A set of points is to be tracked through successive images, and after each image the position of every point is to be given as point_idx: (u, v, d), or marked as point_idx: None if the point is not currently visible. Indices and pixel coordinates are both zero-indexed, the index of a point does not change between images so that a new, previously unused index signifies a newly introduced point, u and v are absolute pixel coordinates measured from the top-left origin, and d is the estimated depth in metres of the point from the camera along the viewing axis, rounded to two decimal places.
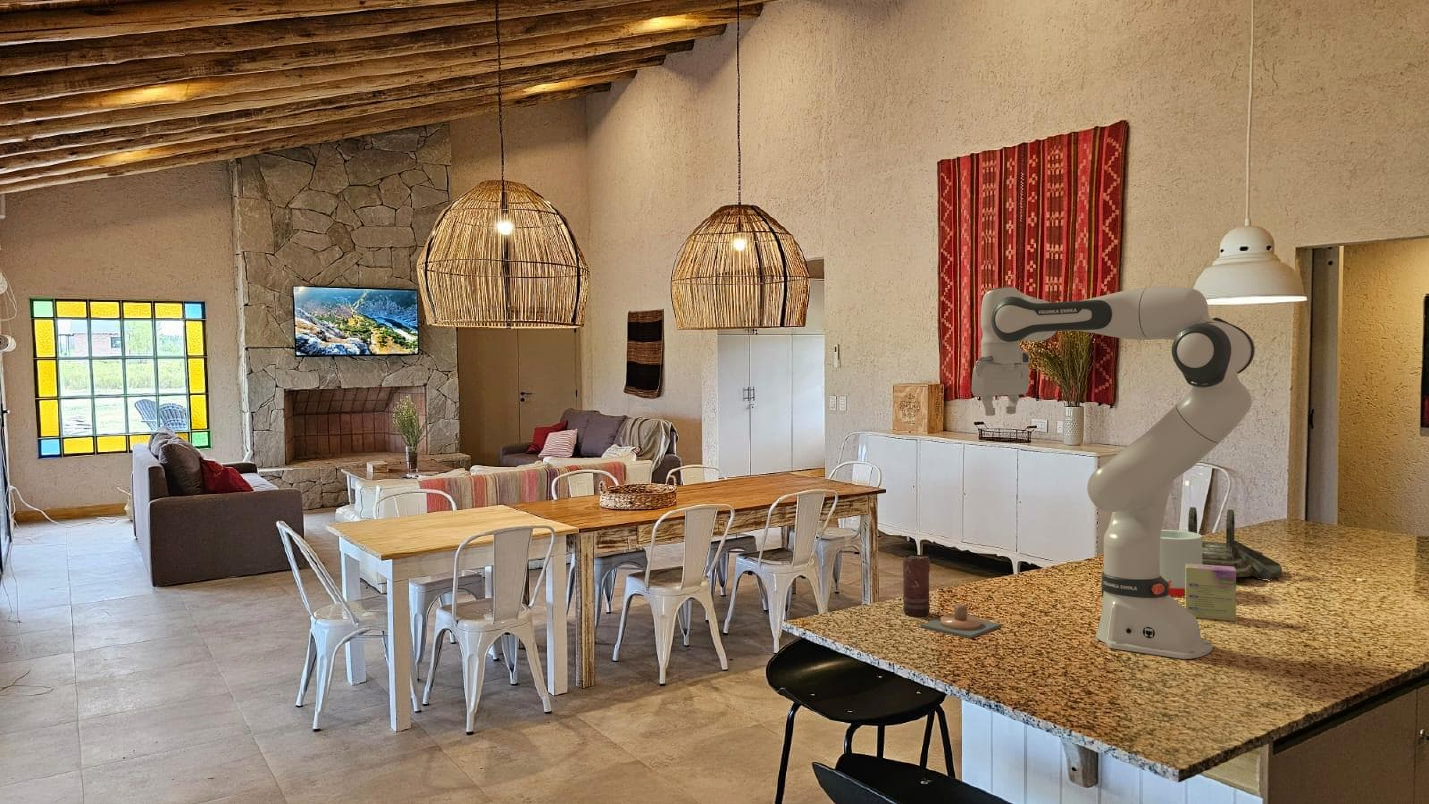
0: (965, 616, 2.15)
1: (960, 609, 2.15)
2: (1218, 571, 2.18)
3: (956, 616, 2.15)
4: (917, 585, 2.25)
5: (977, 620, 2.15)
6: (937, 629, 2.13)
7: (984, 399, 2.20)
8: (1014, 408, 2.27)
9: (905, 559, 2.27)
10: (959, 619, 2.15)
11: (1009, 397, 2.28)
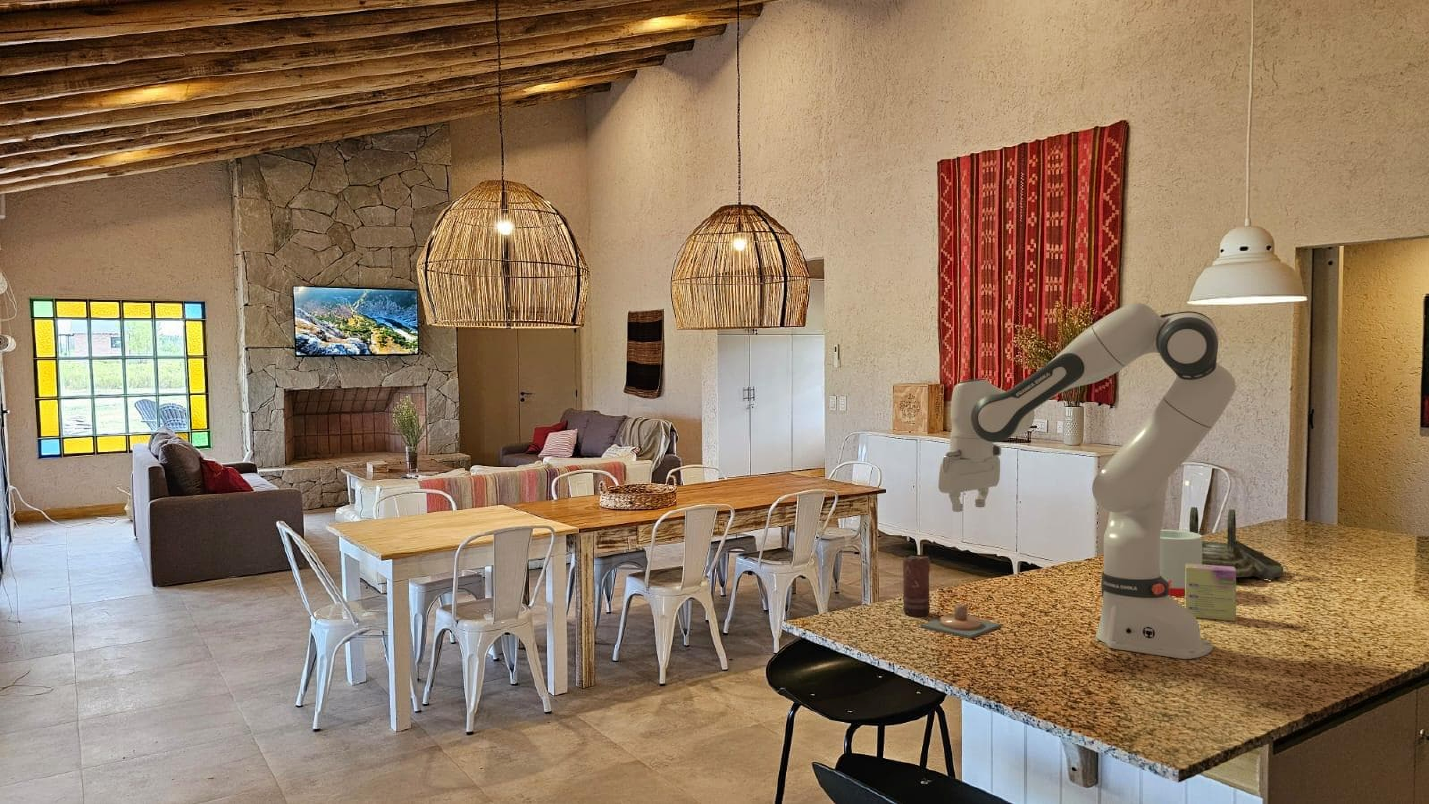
0: (965, 616, 2.15)
1: (960, 609, 2.15)
2: (1218, 571, 2.18)
3: (956, 616, 2.15)
4: (917, 585, 2.25)
5: (977, 620, 2.15)
6: (937, 629, 2.13)
7: (951, 495, 2.14)
8: (983, 501, 2.20)
9: (905, 559, 2.27)
10: (959, 619, 2.15)
11: (979, 489, 2.22)
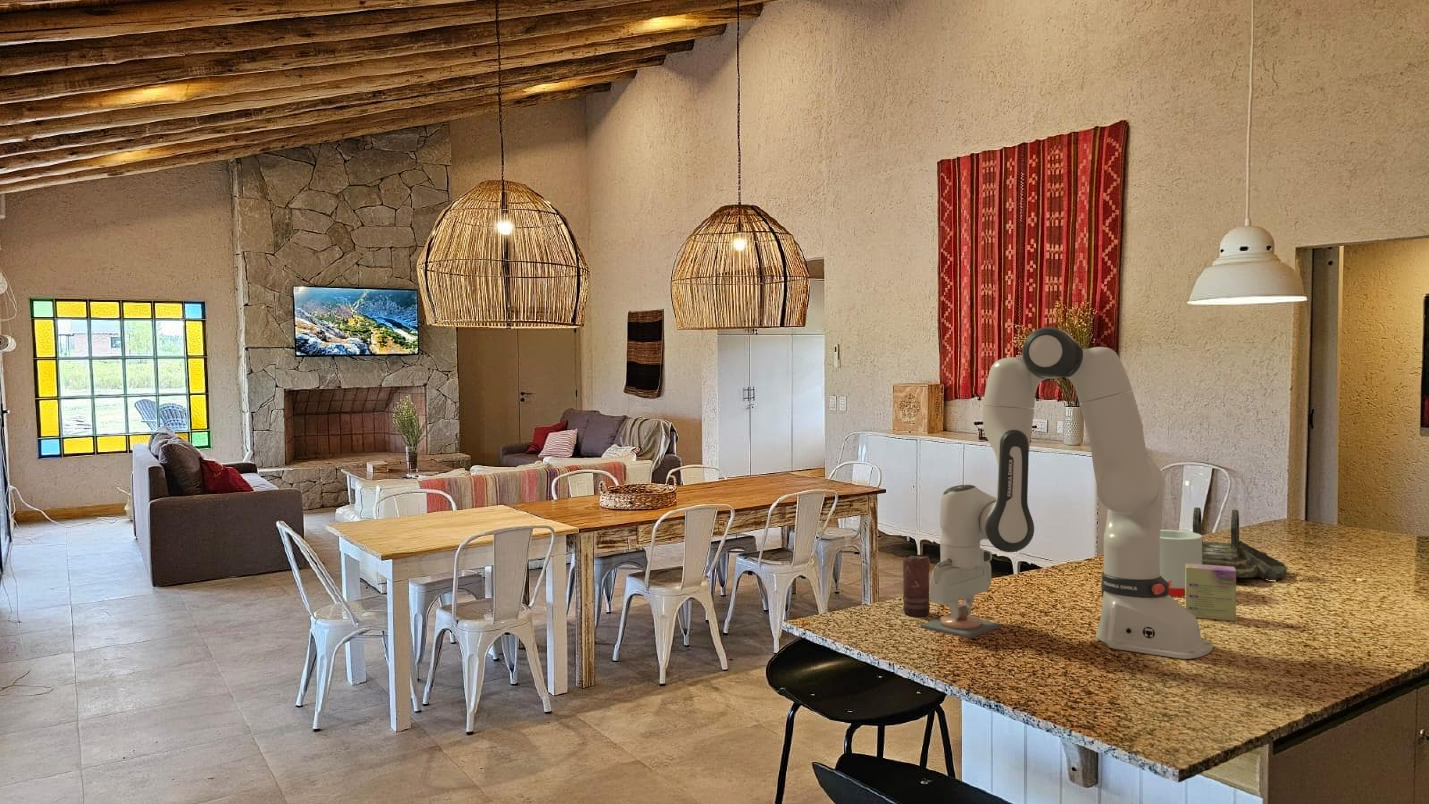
0: (965, 616, 2.15)
1: (960, 609, 2.15)
2: (1218, 571, 2.18)
3: None
4: (917, 585, 2.25)
5: (977, 620, 2.15)
6: (937, 629, 2.13)
7: (949, 602, 2.13)
8: (969, 609, 2.17)
9: (905, 559, 2.27)
10: (959, 619, 2.15)
11: None
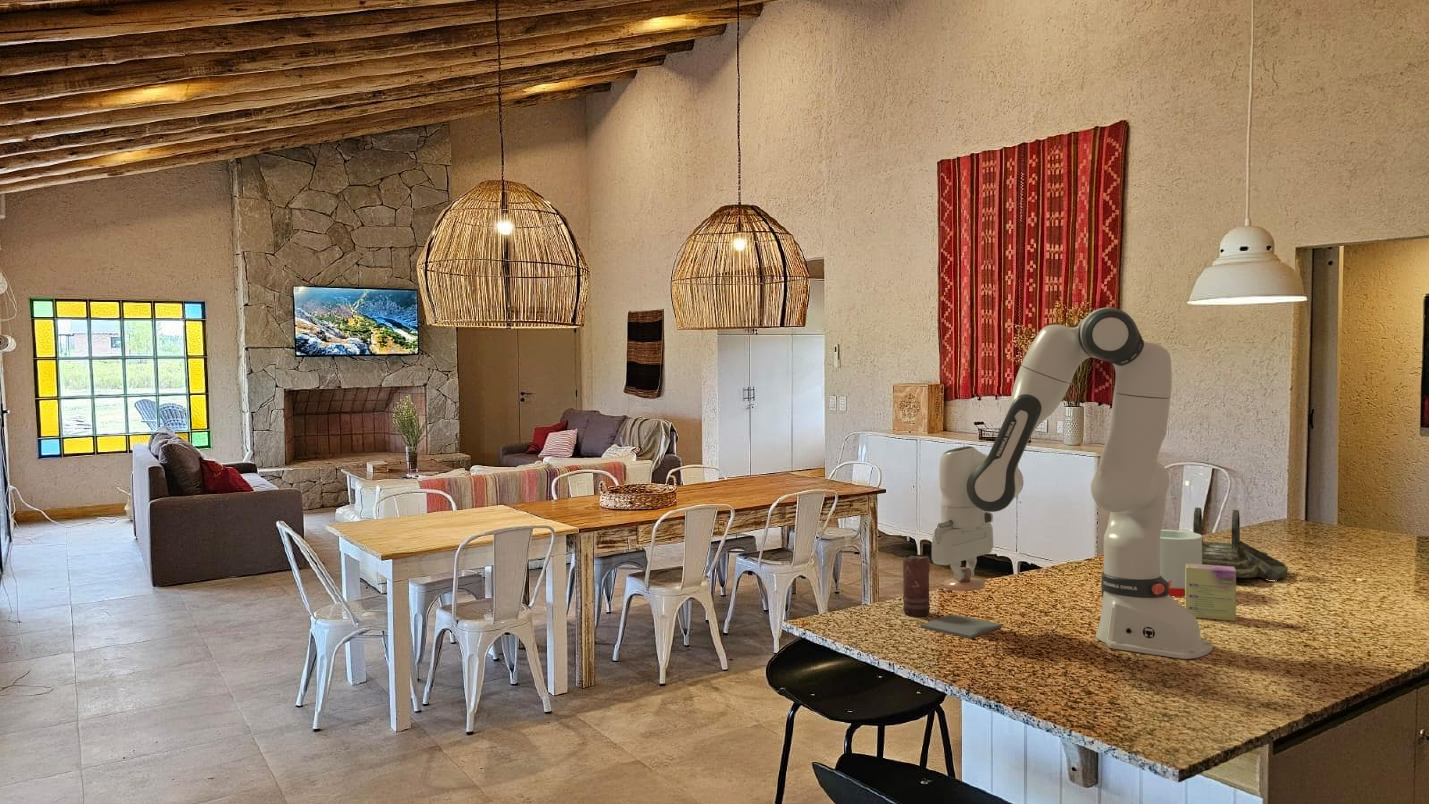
0: (968, 578, 2.14)
1: (963, 571, 2.14)
2: (1218, 571, 2.18)
3: None
4: (917, 585, 2.25)
5: (980, 581, 2.14)
6: (937, 629, 2.13)
7: (952, 564, 2.13)
8: (972, 571, 2.16)
9: (905, 559, 2.27)
10: (962, 581, 2.14)
11: (967, 559, 2.17)
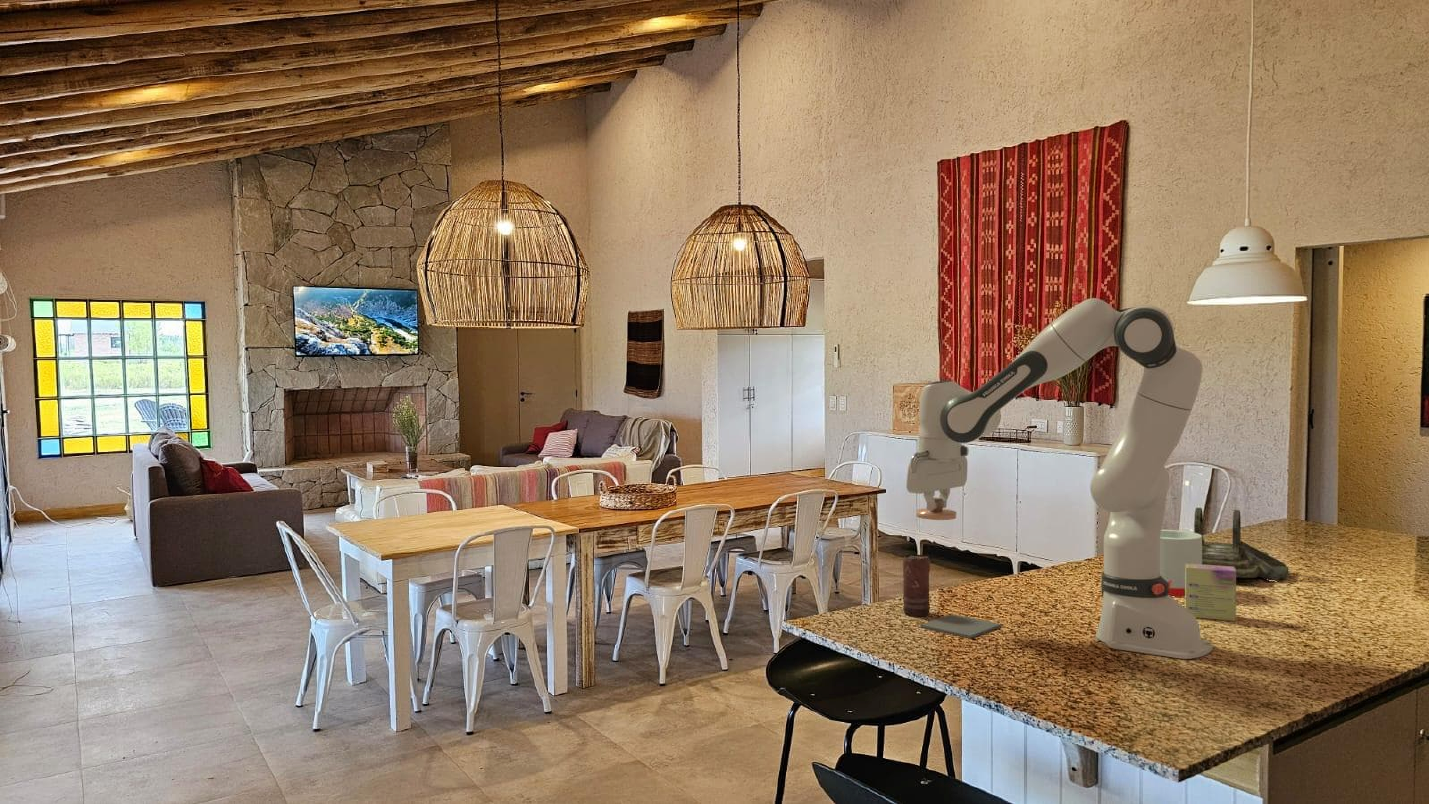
0: (941, 508, 2.20)
1: (936, 501, 2.19)
2: (1218, 571, 2.18)
3: None
4: (917, 585, 2.25)
5: (952, 512, 2.20)
6: (937, 629, 2.13)
7: (926, 494, 2.18)
8: (945, 502, 2.21)
9: (905, 559, 2.27)
10: (935, 511, 2.19)
11: (941, 490, 2.23)
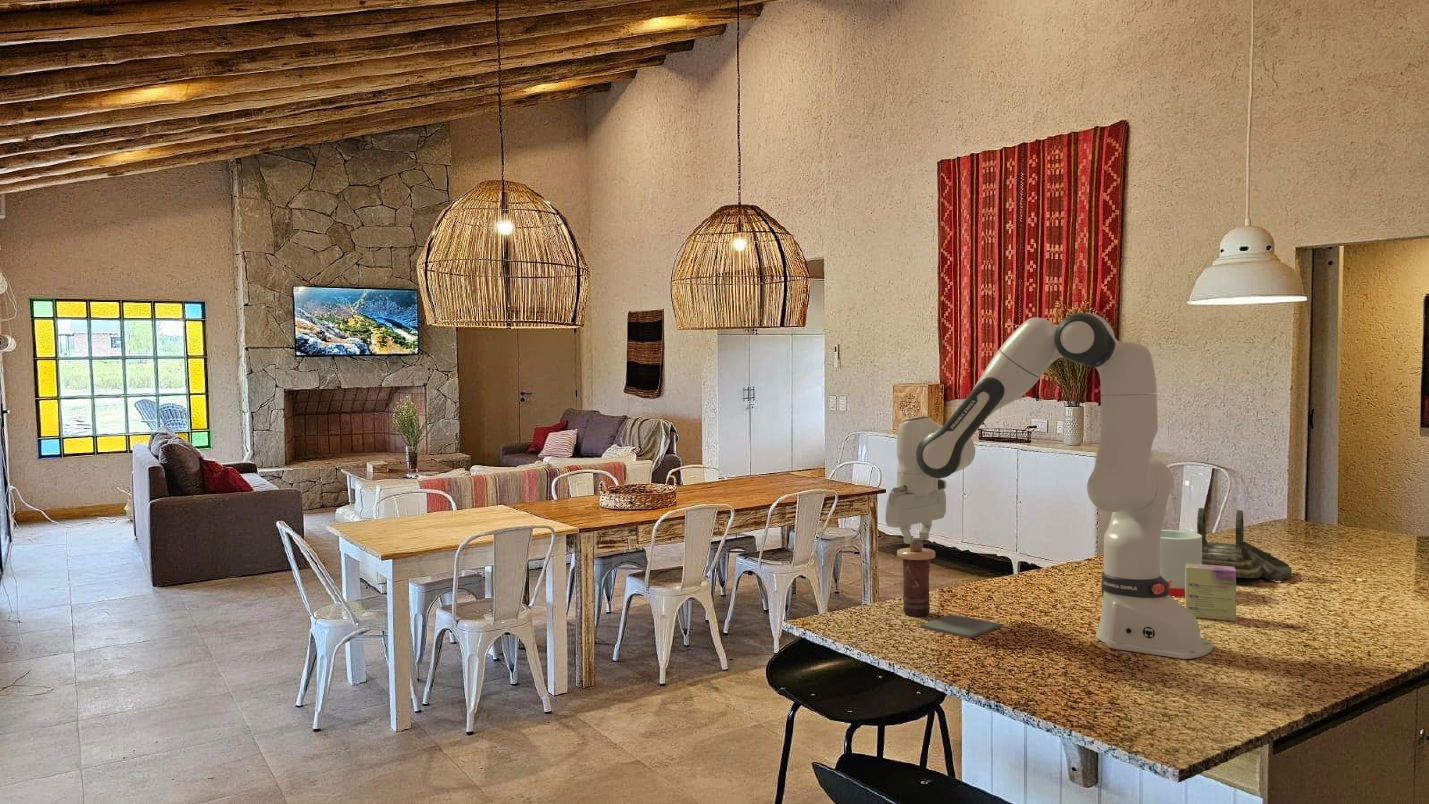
0: (920, 548, 2.27)
1: (915, 541, 2.26)
2: (1218, 571, 2.18)
3: (911, 548, 2.27)
4: (917, 585, 2.25)
5: (931, 551, 2.27)
6: (937, 629, 2.13)
7: (902, 528, 2.24)
8: (927, 534, 2.29)
9: (905, 559, 2.27)
10: (914, 551, 2.27)
11: (923, 522, 2.30)
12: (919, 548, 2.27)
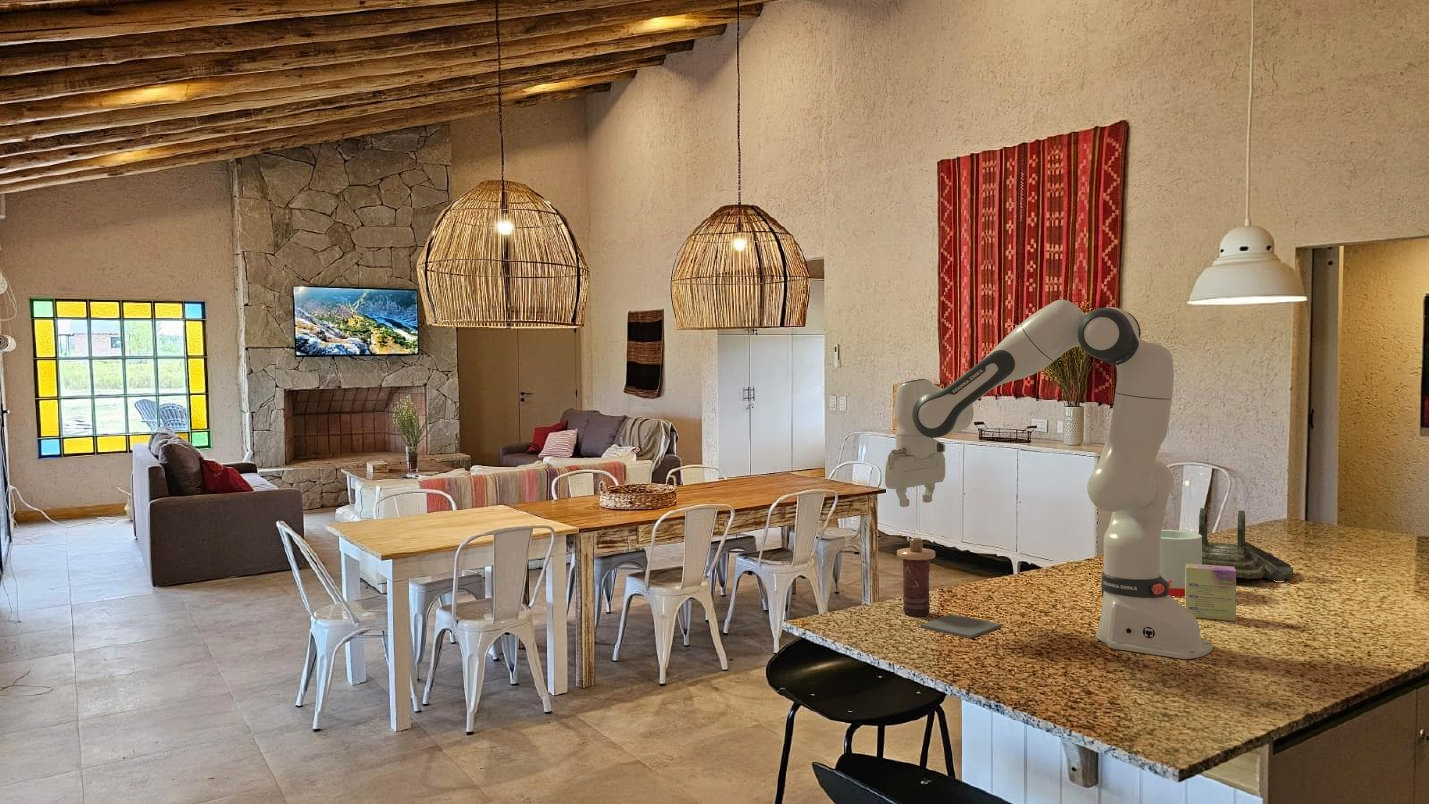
0: (920, 548, 2.27)
1: (915, 541, 2.26)
2: (1218, 571, 2.18)
3: (911, 548, 2.27)
4: (917, 585, 2.25)
5: (931, 551, 2.27)
6: (937, 629, 2.13)
7: (898, 491, 2.23)
8: (930, 497, 2.30)
9: (905, 559, 2.27)
10: (914, 551, 2.27)
11: (926, 485, 2.31)
12: (919, 548, 2.27)
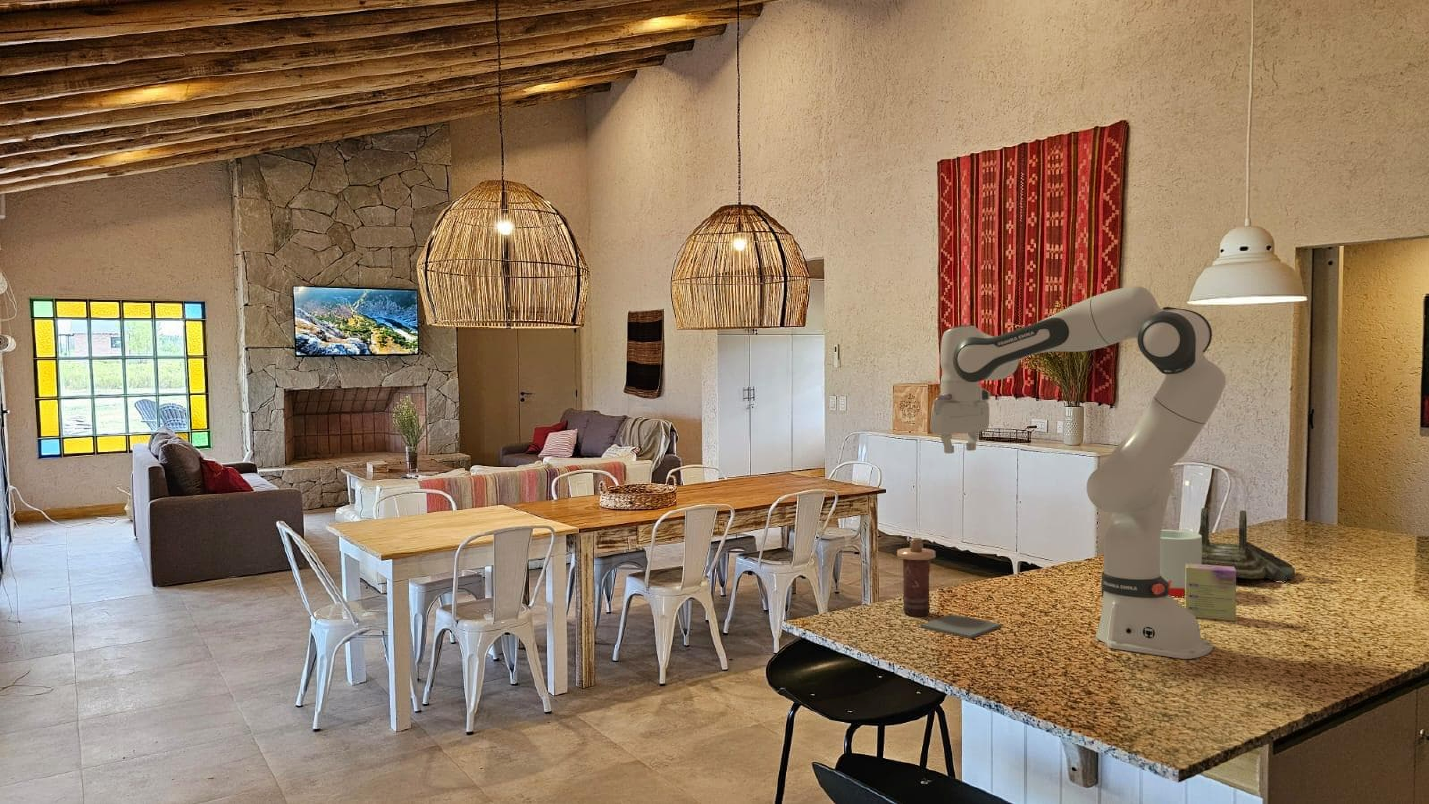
0: (920, 548, 2.27)
1: (915, 541, 2.26)
2: (1218, 571, 2.18)
3: (912, 548, 2.27)
4: (917, 585, 2.25)
5: (931, 552, 2.27)
6: (937, 629, 2.13)
7: (943, 437, 2.22)
8: (974, 445, 2.28)
9: (905, 559, 2.27)
10: (914, 551, 2.27)
11: (970, 433, 2.30)
12: (919, 548, 2.27)
